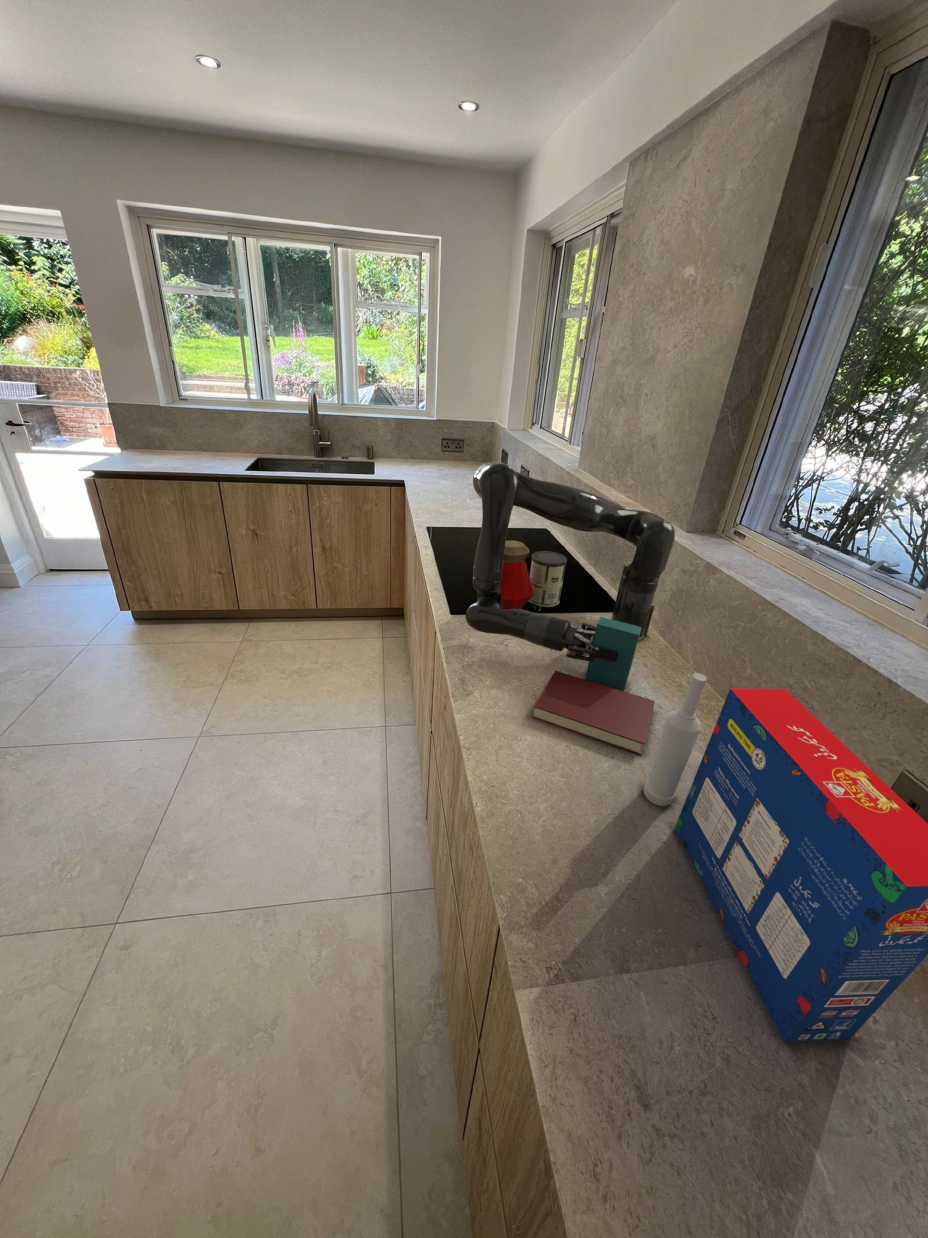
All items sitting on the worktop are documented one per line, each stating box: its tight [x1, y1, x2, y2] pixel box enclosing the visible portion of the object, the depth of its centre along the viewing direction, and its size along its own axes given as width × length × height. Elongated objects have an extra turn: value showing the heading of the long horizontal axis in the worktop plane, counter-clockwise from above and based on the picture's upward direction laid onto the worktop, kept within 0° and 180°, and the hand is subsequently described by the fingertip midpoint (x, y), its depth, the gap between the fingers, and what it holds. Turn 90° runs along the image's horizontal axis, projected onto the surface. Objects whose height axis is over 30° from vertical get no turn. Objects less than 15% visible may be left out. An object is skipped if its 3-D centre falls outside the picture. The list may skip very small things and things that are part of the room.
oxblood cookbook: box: [532, 670, 656, 756], centre depth 103 cm, size 22×15×3 cm
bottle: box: [643, 672, 708, 807], centre depth 80 cm, size 5×5×25 cm
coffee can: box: [528, 550, 568, 608], centre depth 149 cm, size 10×10×14 cm
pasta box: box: [674, 687, 928, 1043], centre depth 61 cm, size 28×8×28 cm, turn 4°
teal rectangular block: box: [584, 616, 642, 692], centre depth 112 cm, size 9×4×15 cm, turn 64°
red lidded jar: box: [501, 540, 533, 609], centre depth 141 cm, size 16×14×20 cm
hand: (618, 651), depth 111 cm, fingers open, 5 cm apart
